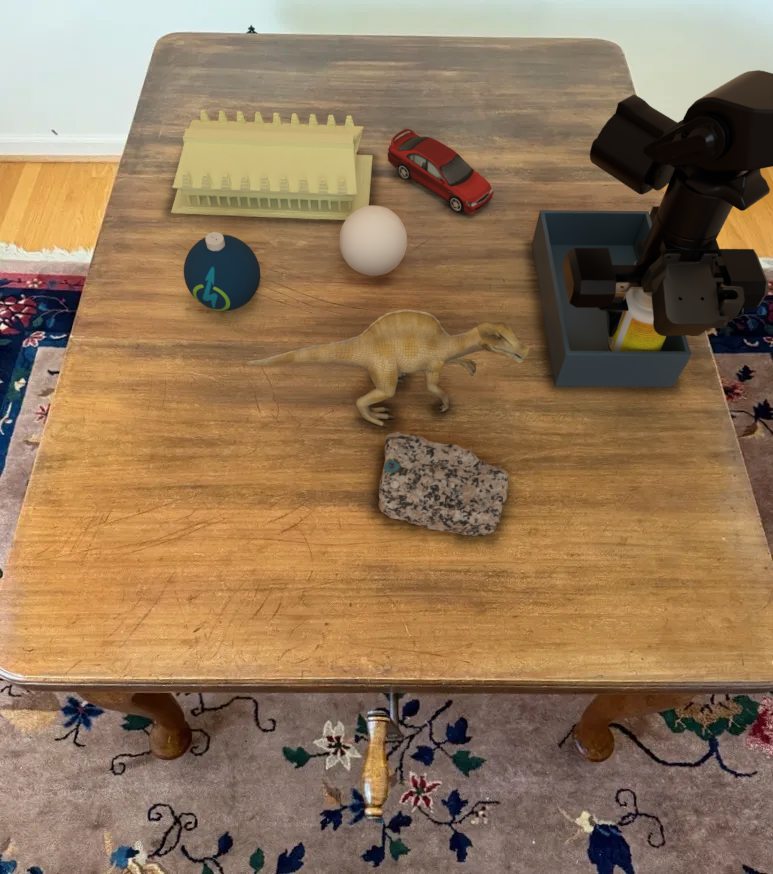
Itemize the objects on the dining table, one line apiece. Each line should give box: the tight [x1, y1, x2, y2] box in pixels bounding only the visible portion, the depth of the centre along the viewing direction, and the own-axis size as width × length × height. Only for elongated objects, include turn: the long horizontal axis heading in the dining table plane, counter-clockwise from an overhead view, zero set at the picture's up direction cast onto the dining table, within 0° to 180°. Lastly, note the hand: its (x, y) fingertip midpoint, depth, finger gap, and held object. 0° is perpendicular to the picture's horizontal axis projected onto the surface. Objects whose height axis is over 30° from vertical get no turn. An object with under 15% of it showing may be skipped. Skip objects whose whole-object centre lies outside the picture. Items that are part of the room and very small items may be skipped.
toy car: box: [386, 128, 495, 215], centre depth 96 cm, size 6×15×5 cm, turn 44°
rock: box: [378, 431, 510, 537], centre depth 71 cm, size 13×9×4 cm
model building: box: [170, 109, 373, 221], centre depth 95 cm, size 25×14×7 cm, turn 88°
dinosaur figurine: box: [246, 308, 530, 428], centre depth 74 cm, size 8×26×13 cm, turn 97°
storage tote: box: [531, 209, 692, 388], centre depth 85 cm, size 22×13×6 cm, turn 1°
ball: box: [338, 205, 408, 277], centre depth 87 cm, size 8×8×8 cm
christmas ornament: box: [183, 231, 261, 312], centre depth 83 cm, size 8×8×10 cm
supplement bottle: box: [607, 289, 666, 351], centre depth 78 cm, size 6×6×10 cm
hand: (637, 334), depth 80 cm, fingers closed on supplement bottle, 6 cm apart
